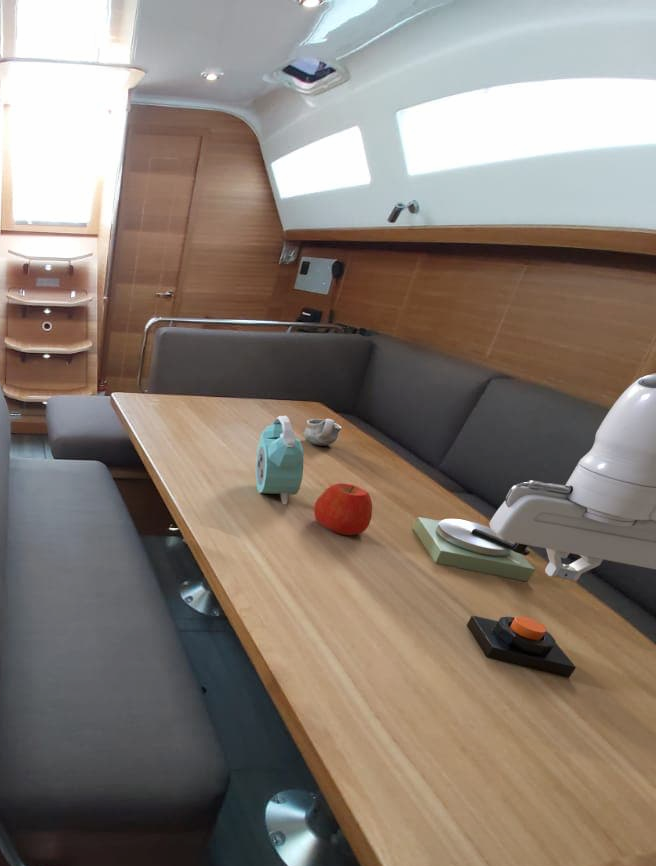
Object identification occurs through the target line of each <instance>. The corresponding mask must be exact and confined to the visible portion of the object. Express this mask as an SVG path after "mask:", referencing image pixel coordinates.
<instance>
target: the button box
mask: <svg viewBox="0 0 656 866" xmlns="http://www.w3.org/2000/svg"><path fill="white" fill-rule="evenodd" d="M514 619H515V617H513V616H501V617H499V619H498V620H494V619H490V618H485V617H483V616H482V617H481V616H477V615H471V616H470V618H469V620H468V622H467V623H466V627H467V628H468V630H469V631H470V633H471V635H472V636H473V639H474V640H475V642H476V643H477V645H478V646H479V648H480V649H481V651H482V653H483V654H484V656H485V657H486V658H487V659H491V660H495V661H499V662H502V663H507V664H510V665H514V666H519V667H523V668H527V669H531V670H535V671H538V672H543V673H547V674H551V675H554V676H560V677H562V678H566V679H568V678H569V679H570V677H571V676H572V674H573V673H574V671H575V670H576V668H577V667H576V665H575V664H574V663H573V661H571V659H570V658H569V657H568V655H566V653H565V652H564V651H563V650H562V648H561V647H560V646H559V645H558V643H557V641H556V639H555V638H554V637H553V635H552V634H551V633H550V632H548V631H547V630H546V632H545V634H544V635H543V637H542V638H541V640H539V641H537V640H532V639H528V638H526V637H524V636H521V635H519V634H517V633H516V632H515V631H513V630H512V629H511V628H510V626H511V624H512V622H513V621H514Z"/></svg>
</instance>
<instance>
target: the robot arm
mask: <svg viewBox="0 0 656 866" xmlns="http://www.w3.org/2000/svg"><path fill="white" fill-rule="evenodd" d="M489 528H491V529H492V531H493V532H494V533H495V534H496V536H497V537H498V538H500V539H501V540H504V541H510V542H513V543H520V544H525V545H528V546H531V547H537V548H540V549H541V548H542V549H545V550H546V554H547V558H548V561H549V562H548V564H547V565H546V567H545V569H544V572H545V574H546V575H547V576H548V577H551V578H557V579H562V580H565V581H570V582H577V581H578V580H579V579H580V577H581V575H583V574H584V573H586V572H589V571H591V570H592V569H595V568H597V567H599V566H600V565H601V564H602V562H603V561H610V562H614V563H620V564H624V565H625V564H626V565H630V566H636V567H642V568H646V569H650V570H651V569H652V570H656V373H651V374H648V375H644V376H642V377H639V378H638V379H636V380H635V381H634V382H633V383H632V384H631V385H629V386H628V387H627V388H626V389H625V390H624V391H623V392H622V393H621V395H619V397H618V399H617V400H616V401H615V402H614V404H613V405H612V407H611V408H610V409H609V411H608V412H607V414H606V416H605V417H604V419H603V420H602V421H601V424H600V425H599V427H598V428H597V430H596V433H595V438H594V443H593V445H592V447H591V449H590V450H589V451H588V452H587V453H586V454H585V455H583V456H582V457H581V458H580V459H579V461H578V462H577V464H576V466H575V467H574V470H573V471H572V473H571V475H570V477H569V478H568V480H567V481H566V483H565V485H564V484H560V483H559V484H558V483H547V482H542V481H539V480H527V482H520V483H517V484H515V485H513V486H512V487H510V489H509V491H508V493H507V495H506V496H505V500H504V501H503V502H502V503H501V505H500V506H499V507H498V509H497V510H496V512H495V513H494V515H493V516H492V517H491V519H490V521H489ZM570 554H573V555H578V556H579V557H580V558H578V559H577V560H574V561H573V562H572V563H570V564H567V563H562V559H567V558H568V556H569V555H570Z"/></svg>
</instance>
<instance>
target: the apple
mask: <svg viewBox="0 0 656 866" xmlns="http://www.w3.org/2000/svg"><path fill="white" fill-rule="evenodd" d="M313 510H314V511H313V513H314V518H315V520H316V522H317V523H318V524H320V525H321V526H323V527H324V528H326V529H327V530H330V531H332V532H333V533H337V534H340V535H344V536H355V535H360V534H363V533H364V532H365V531H366V530H367V529H368V527H369V526H370V523H371V520H372V517H373V516H372V514H373V501H372V498H371V496H370V494H369V492H368V491H366V490H365V489H363V488H361V487H359V486H358V485H354V484H350V483H341V482H340V483H335V484H331V485H330V486H329V487H327V488H326V489H325V490H324V491H323V492H322V493H321V494H320V495H319V496H318V498H317V499H316V501H315V503H314V507H313Z"/></svg>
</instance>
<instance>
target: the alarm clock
mask: <svg viewBox="0 0 656 866" xmlns="http://www.w3.org/2000/svg"><path fill="white" fill-rule="evenodd" d="M304 456H305V455H304V448H303V444H302V443H301V440H300V439H298V438H295V433H294V429H293V425H292V423H291V422H290V419H289V417H288V416H287V415H279V416H277V417H276V418H275V419H274V421H273V422H272V423H271V425H267V426H266V427H265V428H264V430H263V431H262V433H261V434H260V440H259V442H258V445H257V449H256V456H255V484H256V485H255V486H256V489H257V491H258V493H259V494H272V495H274V494H275V495H276V494H277V495H280V502H281V504H283V505H287V504H288V500H289V495H296V494H298V492H299V490H300V488H301V485H302V481H303V473H304Z"/></svg>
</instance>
